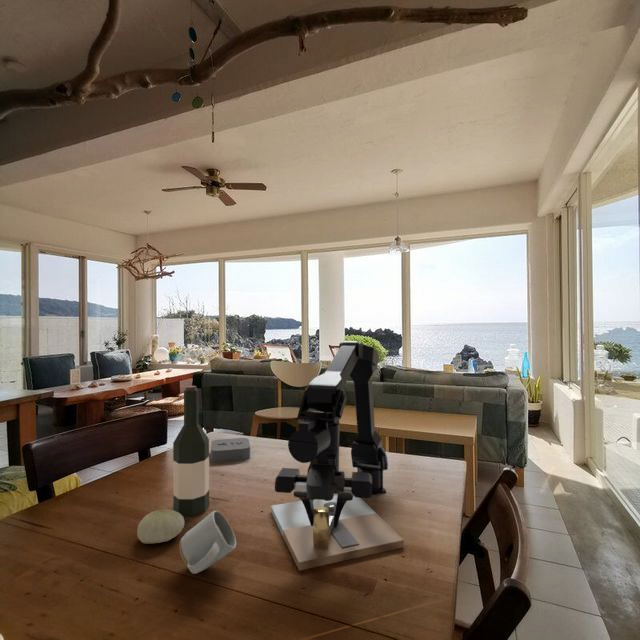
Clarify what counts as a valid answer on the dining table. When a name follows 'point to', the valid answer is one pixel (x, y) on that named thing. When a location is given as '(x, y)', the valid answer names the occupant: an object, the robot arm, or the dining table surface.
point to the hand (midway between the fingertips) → (323, 525)
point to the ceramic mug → (207, 542)
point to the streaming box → (230, 450)
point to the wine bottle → (191, 461)
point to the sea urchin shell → (160, 526)
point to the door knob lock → (323, 524)
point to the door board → (334, 533)
